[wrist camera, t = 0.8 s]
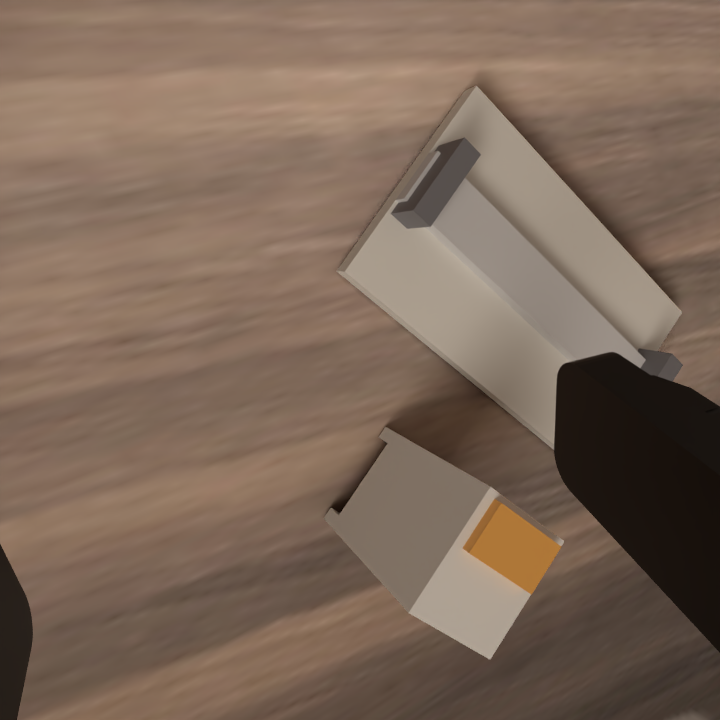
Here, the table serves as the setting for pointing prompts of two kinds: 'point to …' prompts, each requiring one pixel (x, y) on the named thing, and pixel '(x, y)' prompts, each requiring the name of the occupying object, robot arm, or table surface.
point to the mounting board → (506, 268)
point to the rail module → (445, 543)
